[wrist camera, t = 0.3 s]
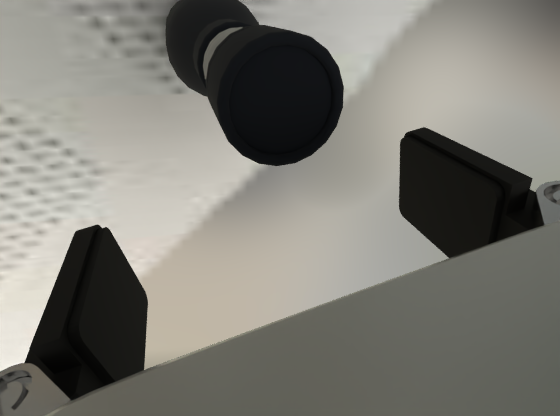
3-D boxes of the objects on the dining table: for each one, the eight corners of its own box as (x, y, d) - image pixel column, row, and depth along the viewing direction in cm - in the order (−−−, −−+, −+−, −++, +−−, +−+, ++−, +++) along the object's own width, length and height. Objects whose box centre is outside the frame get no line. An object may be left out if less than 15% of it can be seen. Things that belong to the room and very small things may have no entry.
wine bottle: (167, 64, 35) (174, 208, 11) (163, -9, 32) (159, -50, 7) (229, 69, 37) (359, 198, 12) (231, 0, 34) (409, -11, 9)
